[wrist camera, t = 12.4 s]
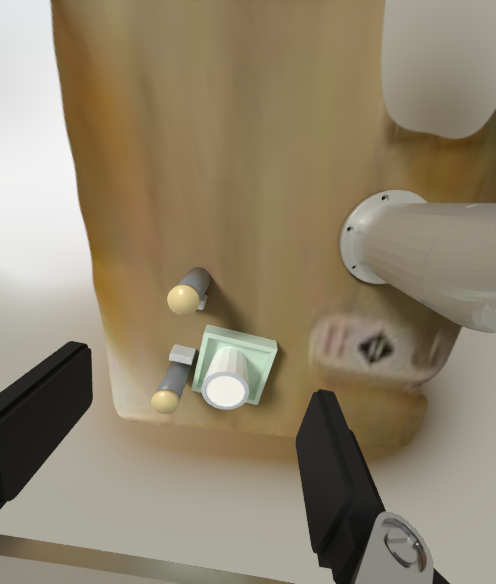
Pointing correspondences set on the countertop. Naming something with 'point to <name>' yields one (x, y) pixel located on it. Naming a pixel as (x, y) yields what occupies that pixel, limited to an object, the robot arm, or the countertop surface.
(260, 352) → the tray
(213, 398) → the white cup
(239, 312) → the countertop surface
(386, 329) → the countertop surface
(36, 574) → the robot arm
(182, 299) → the grey upright cylinders
